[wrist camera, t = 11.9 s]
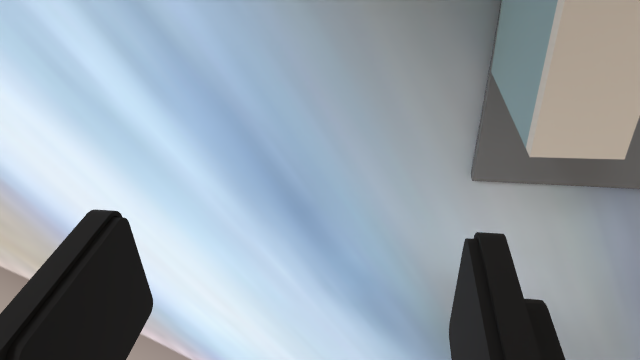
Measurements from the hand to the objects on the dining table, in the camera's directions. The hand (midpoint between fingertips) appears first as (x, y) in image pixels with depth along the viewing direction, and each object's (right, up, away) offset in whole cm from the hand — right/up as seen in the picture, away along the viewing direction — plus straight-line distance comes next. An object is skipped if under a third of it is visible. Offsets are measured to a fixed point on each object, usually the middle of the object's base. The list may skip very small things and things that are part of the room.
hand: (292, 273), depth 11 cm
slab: (+10, +10, +10) cm, 17 cm away
